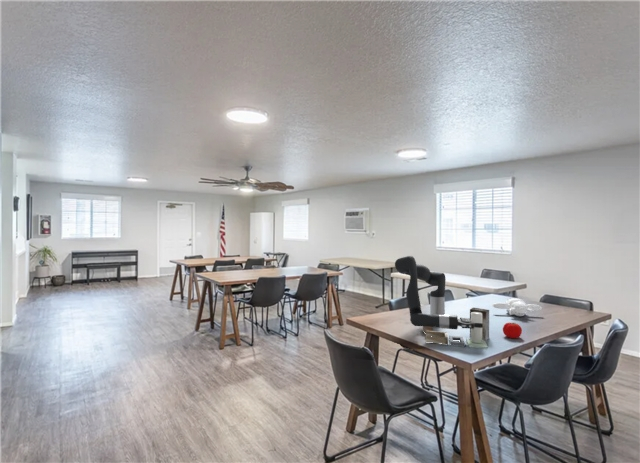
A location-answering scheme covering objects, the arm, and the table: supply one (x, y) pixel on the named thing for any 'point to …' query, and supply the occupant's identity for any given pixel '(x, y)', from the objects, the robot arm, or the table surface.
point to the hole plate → (456, 341)
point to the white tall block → (476, 332)
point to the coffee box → (483, 321)
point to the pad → (477, 344)
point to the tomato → (512, 330)
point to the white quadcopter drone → (517, 306)
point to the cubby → (437, 337)
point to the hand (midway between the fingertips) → (481, 324)
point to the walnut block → (427, 328)
